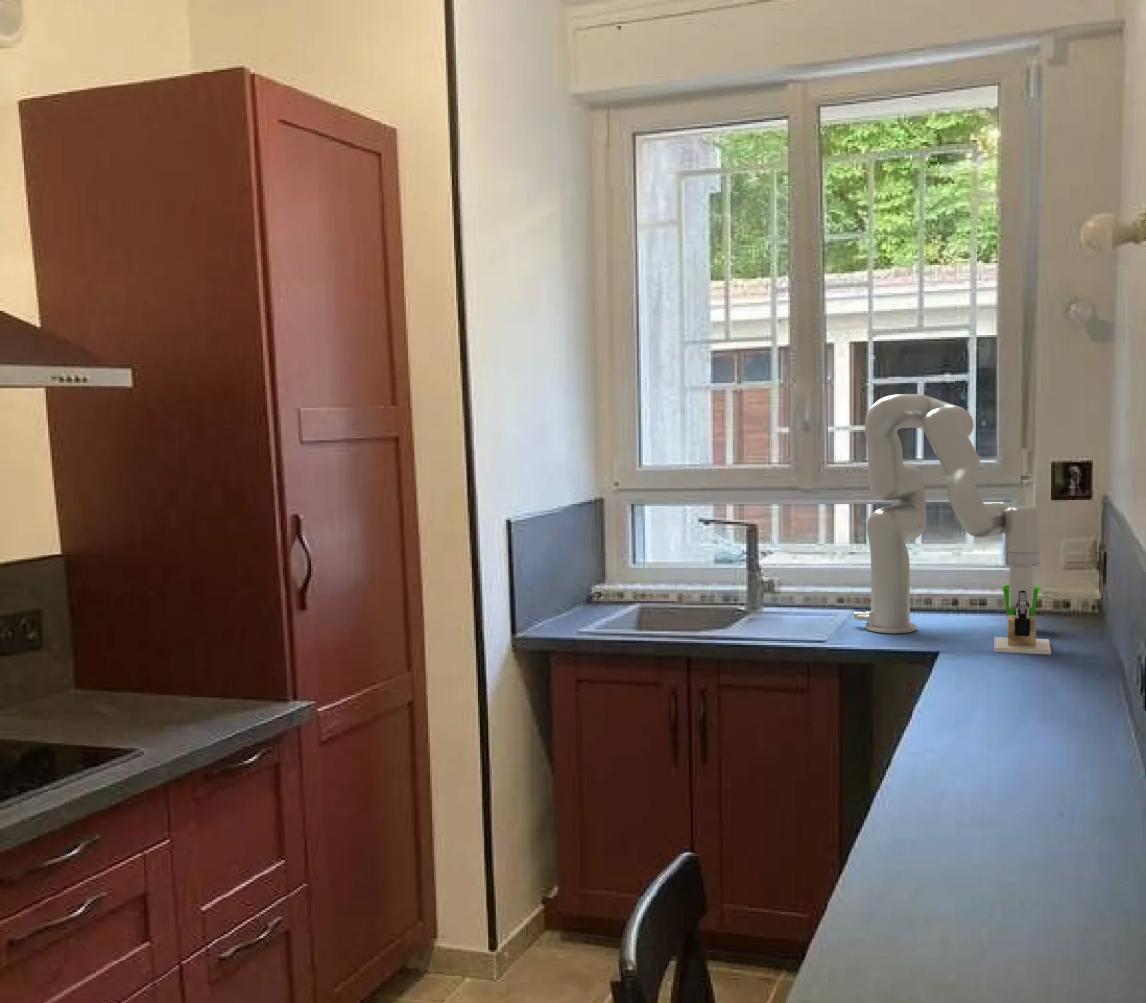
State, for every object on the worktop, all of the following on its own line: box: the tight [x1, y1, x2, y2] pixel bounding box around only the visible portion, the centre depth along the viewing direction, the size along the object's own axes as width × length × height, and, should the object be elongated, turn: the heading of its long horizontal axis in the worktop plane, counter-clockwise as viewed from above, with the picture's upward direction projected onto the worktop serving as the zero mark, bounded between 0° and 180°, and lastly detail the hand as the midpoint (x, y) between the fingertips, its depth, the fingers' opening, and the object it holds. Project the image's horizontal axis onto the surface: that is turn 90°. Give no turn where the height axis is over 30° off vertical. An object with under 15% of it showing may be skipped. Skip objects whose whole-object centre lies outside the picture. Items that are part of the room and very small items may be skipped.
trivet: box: [993, 636, 1052, 655], centre depth 259 cm, size 12×12×1 cm
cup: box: [1001, 583, 1041, 618], centre depth 278 cm, size 9×9×11 cm
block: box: [1007, 615, 1037, 647], centre depth 259 cm, size 6×6×6 cm
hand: (1021, 631), depth 259 cm, fingers open, 9 cm apart
